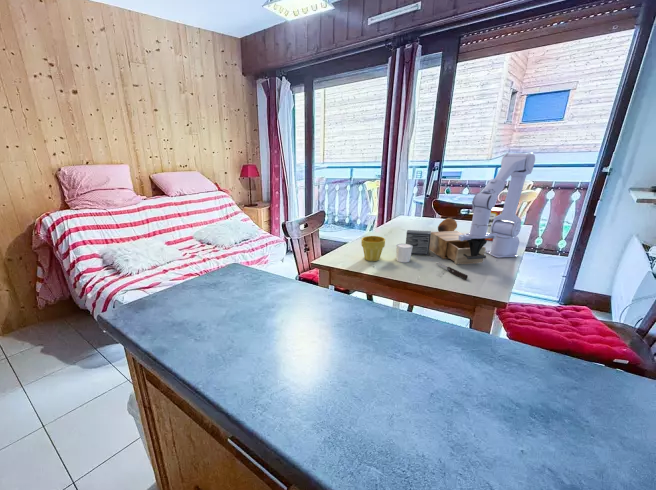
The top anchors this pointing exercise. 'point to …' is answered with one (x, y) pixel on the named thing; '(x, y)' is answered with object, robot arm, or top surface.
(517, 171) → the robot arm
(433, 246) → the cabinet
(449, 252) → the drawer
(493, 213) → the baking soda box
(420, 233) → the small box
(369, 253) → the flower pot
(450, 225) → the potato
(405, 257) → the white tapered cylinder
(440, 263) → the kitchen knife
